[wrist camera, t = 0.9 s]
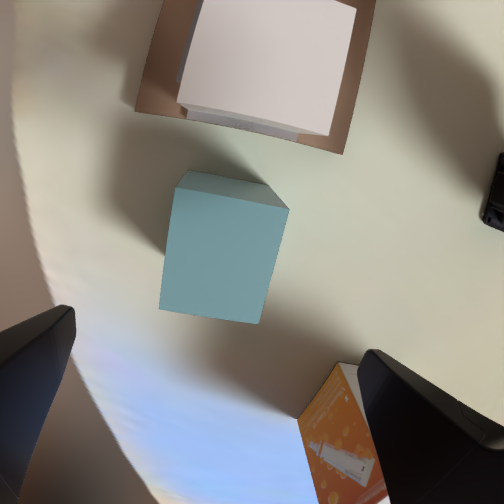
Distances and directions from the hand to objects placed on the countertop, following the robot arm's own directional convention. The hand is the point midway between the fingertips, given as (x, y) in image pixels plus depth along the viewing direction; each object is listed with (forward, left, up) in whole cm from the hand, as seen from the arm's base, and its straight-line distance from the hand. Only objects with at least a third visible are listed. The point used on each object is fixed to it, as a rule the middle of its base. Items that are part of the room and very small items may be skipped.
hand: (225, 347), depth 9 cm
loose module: (0, 0, -12) cm, 12 cm away
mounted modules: (0, -17, -10) cm, 20 cm away
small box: (-14, +14, -12) cm, 23 cm away
